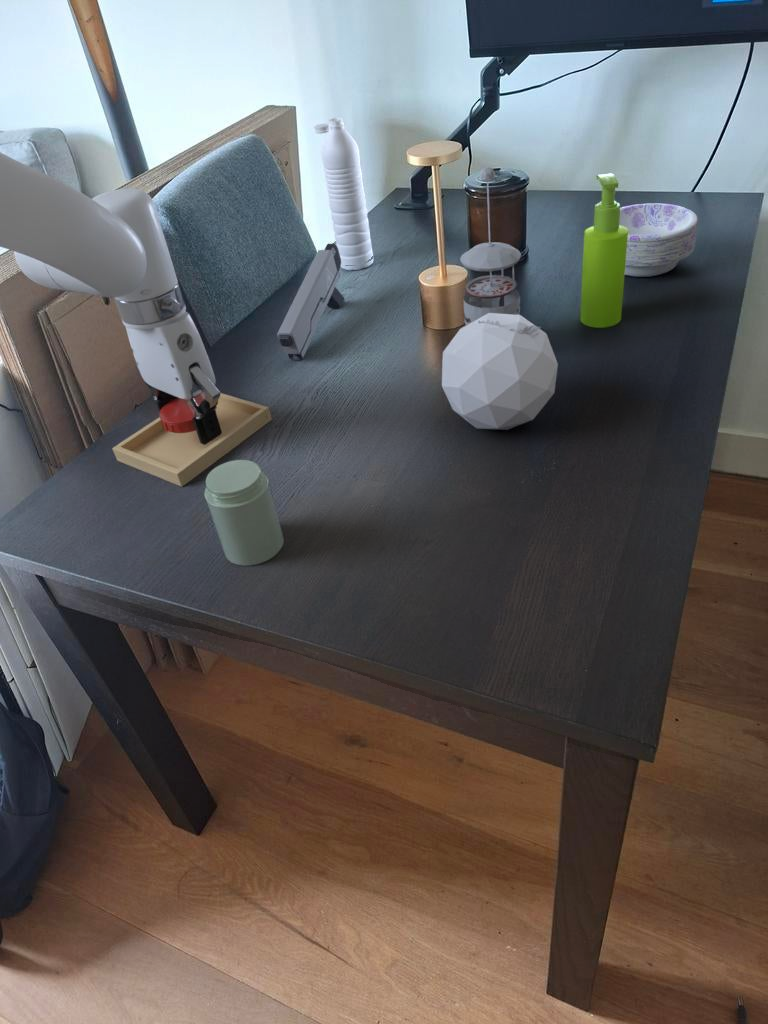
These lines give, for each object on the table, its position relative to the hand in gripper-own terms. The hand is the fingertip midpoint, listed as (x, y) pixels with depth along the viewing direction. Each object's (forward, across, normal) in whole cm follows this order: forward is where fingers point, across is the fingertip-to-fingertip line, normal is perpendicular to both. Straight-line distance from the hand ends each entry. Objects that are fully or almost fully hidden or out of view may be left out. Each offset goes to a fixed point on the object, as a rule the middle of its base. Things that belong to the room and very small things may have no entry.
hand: (193, 429), depth 100 cm
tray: (+2, 0, 0) cm, 2 cm away
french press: (+2, -21, -40) cm, 45 cm away
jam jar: (+2, -23, +10) cm, 25 cm away
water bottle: (+2, +21, -54) cm, 58 cm away
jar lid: (-3, 0, 0) cm, 3 cm away
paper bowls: (+2, -27, -74) cm, 79 cm away
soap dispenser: (+2, -29, -55) cm, 62 cm away
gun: (+2, +8, -32) cm, 33 cm away
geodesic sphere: (+2, -32, -24) cm, 40 cm away
